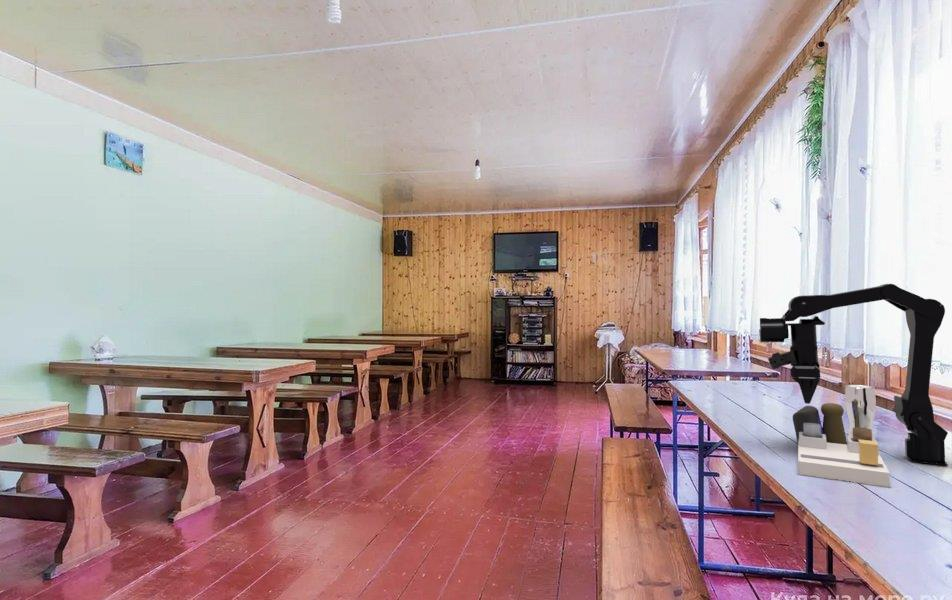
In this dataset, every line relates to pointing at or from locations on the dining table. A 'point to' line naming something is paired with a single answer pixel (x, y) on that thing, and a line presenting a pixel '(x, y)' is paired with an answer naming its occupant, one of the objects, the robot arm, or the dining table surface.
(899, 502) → the dining table surface
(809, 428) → the grey button
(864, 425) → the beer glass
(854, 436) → the walnut button
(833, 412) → the olive knobbed pillar
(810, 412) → the leaning round-cornered charcoal block
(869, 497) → the dining table surface
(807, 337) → the robot arm
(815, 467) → the control panel
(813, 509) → the dining table surface
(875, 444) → the tan wooden brick
